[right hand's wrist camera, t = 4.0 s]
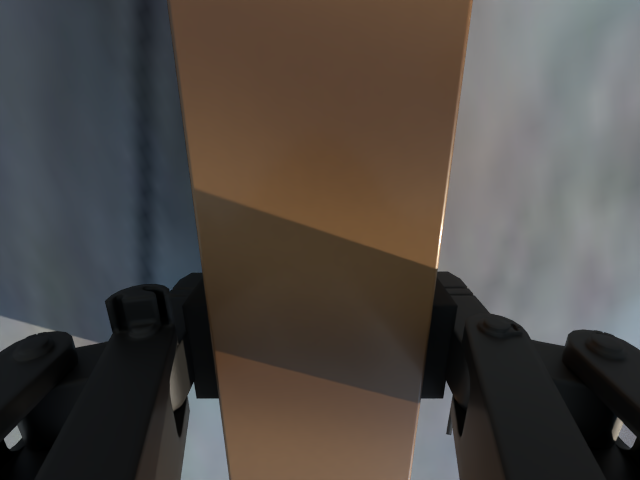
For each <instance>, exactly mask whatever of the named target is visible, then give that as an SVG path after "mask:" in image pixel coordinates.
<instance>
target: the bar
mask: <svg viewBox="0 0 640 480" xmlns="http://www.w3.org/2000/svg"><path fill="white" fill-rule="evenodd" d="M472 2H473V0H167V5H168V13H169V20H170V28H171V36H172V43H173V51H174V59H175V66H176V74H177V82H178V89H179V97H180V105H181V112H182V120H183V128H184V135H185V143H186V150H187V158H188V166H189V173H190V181H191V189H192V196H193V204H194V212H195V219H196V227H197V235H198V242H199V250H200V258H201V265H202V273H203V281H204V288H205V296H206V304H207V311H208V319H209V327H210V334H211V342H212V350H213V357H214V365H215V373H216V380H217V388H218V396H219V403H220V411H221V418H222V426H223V434H224V441H225V449H226V457H227V464H228V472H229V480H410V477H411V469H412V461H413V454H414V446H415V438H416V431H417V423H418V415H419V408H420V400H421V392H422V385H423V377H424V370H425V362H426V354H427V347H428V339H429V331H430V324H431V316H432V308H433V301H434V293H435V285H436V278H437V270H438V262H439V255H440V247H441V239H442V232H443V224H444V216H445V209H446V201H447V194H448V186H449V178H450V171H451V163H452V155H453V148H454V140H455V132H456V125H457V117H458V109H459V102H460V94H461V86H462V79H463V71H464V63H465V56H466V48H467V40H468V33H469V25H470V17H471V10H472Z"/></svg>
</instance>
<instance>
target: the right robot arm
mask: <svg viewBox="0 0 640 480" xmlns="http://www.w3.org/2000/svg"><path fill="white" fill-rule="evenodd" d="M105 304H106V308H107V312H108V316H109V320H110V324H111V328H112V332H113V334H112V336H111V338H110V339H109V341H108V342H104V343H99V344H93V345H88V346H83V347H77V348H75V345H74V341H73V338H72V336H71V335H70V334H68V333H67V332H60V331H54V332H43V333H38V334H37V335H36V334H34V335H31V336H28V337H26V338H25V339H23V340H20V341H18V342H16V343H14V344H12V345H11V346H9V347H7V348H6V349H4V350H3V351H1V352H0V480H180V479H181V472H182V464H183V457H184V449H185V442H186V435H187V427H188V420H189V412H190V410H189V403H188V397H187V395H188V393H189V391H190V389H191V387H192V384H193V382H194V385H195V391H196V397H197V398H219V396H218V388H217V380H216V373H215V365H214V357H213V350H212V342H211V334H210V327H209V319H208V311H207V304H206V296H205V288H204V281H203V273H191V274H189V275H187V276H186V277H184V278H182V279H180V280H179V281H178V283H177V284H176V285H175V286H174V287H173V290H171V291H170V292H169V289H168V288H167V287H165V286H163V285H158V284H143V285H138V286H132V287H129V288H126V289H123V290H120V291H119V292H117V293H115V294H113V295H111V296H110V297H109V298H108V299H107V300H106V301H105ZM446 381H447V383H448V385H449V387H450V390H451V392H452V394H453V397H452V403H451V408H450V414H449V420H448V426H447V433H446V434H448V435H451V433H452V428H453V434H454V441H455V449H456V456H457V463H458V471H459V478H460V480H640V350H639V349H637V348H636V347H634V346H633V345H631V344H629V343H628V342H626V341H624V340H622V339H619V338H617V337H615V336H613V335H611V334H608V333H605V332H604V333H603V332H601V331H596V330H594V331H592V330H575V331H572V332H571V333H570V334H568V337H567V340H566V344H565V346H561V345H555V344H550V343H545V342H539V341H535V340H531V339H530V337H529V335H528V333H527V332H526V331H525V330H524V329H523V327H522V326H520V325H519V324H517V323H516V322H514V321H513V320H510V319H508V318H505V317H502V316H499V315H494V314H490V313H489V312H488V311H487V309H486V308H485V307H484V306H483V305H482V304H481V302H480V301H479V300H478V299H477V298H476V297H475V296H473V293H472V292H471V291H470V290H469V289H467V286H466V285H465V284H464V283H463V281H462V280H461V279H460V278H458V277H456V276H455V275H453V274H451V273H449V272H437V278H436V285H435V293H434V301H433V308H432V316H431V324H430V331H429V339H428V347H427V354H426V362H425V370H424V377H423V385H422V392H421V398H443V396H444V389H445V383H446ZM623 423H624V424H625V425H626V426H627V427H628V428H629V429H630V430H631V431H632V432H633V433H634V434H635V435H636V436H637V438H636V440H635V443H634V445H633V447H632V448H630V447H629V446H627V445H626V444H625V443H624V442H623V441H622V440H621V439H620V438H619V437H618V435H619V432H620V430H621V427H622V425H623ZM16 426H18V428H19V431H20V433H21V435H22V438H21V440H20V441H19V442H18V443H17V444H16V445H15V446H13V447H12V448H11V449H8V448H7V446H6V443H5V441H4V438H5V437H6V436H7V435H8V434H9V433H10V432H11V431H12V430H13V429H14V428H15V427H16Z"/></svg>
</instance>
